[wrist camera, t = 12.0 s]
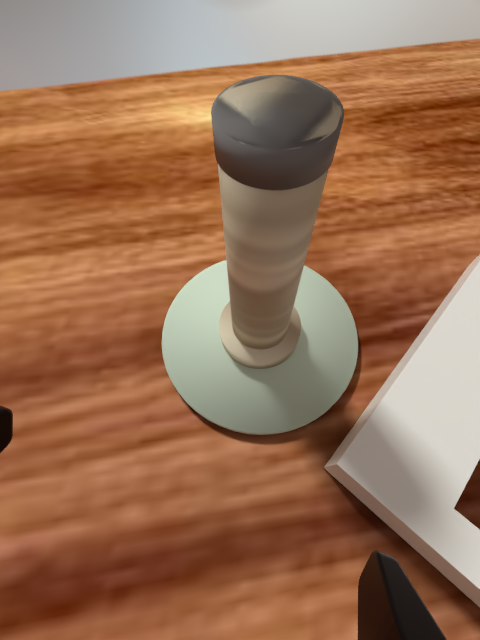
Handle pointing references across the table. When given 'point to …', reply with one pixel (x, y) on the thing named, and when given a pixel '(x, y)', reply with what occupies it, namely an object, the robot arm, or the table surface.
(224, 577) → the table surface
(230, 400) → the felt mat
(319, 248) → the table surface
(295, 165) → the key peg
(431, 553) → the socket plate
